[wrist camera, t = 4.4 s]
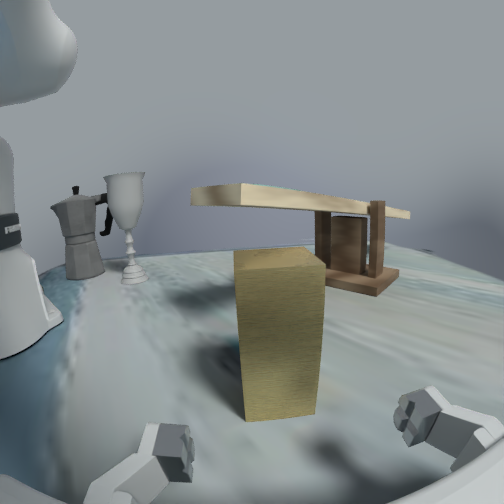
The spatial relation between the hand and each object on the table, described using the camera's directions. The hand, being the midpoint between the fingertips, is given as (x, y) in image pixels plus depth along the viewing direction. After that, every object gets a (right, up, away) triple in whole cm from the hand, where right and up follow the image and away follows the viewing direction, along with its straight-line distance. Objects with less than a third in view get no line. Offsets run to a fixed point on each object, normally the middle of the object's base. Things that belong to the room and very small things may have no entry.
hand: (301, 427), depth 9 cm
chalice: (-22, +1, +37) cm, 43 cm away
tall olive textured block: (0, -4, +9) cm, 10 cm away
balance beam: (+13, +12, +31) cm, 36 cm away
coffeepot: (-35, +2, +42) cm, 54 cm away
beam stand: (+13, +2, +33) cm, 36 cm away
